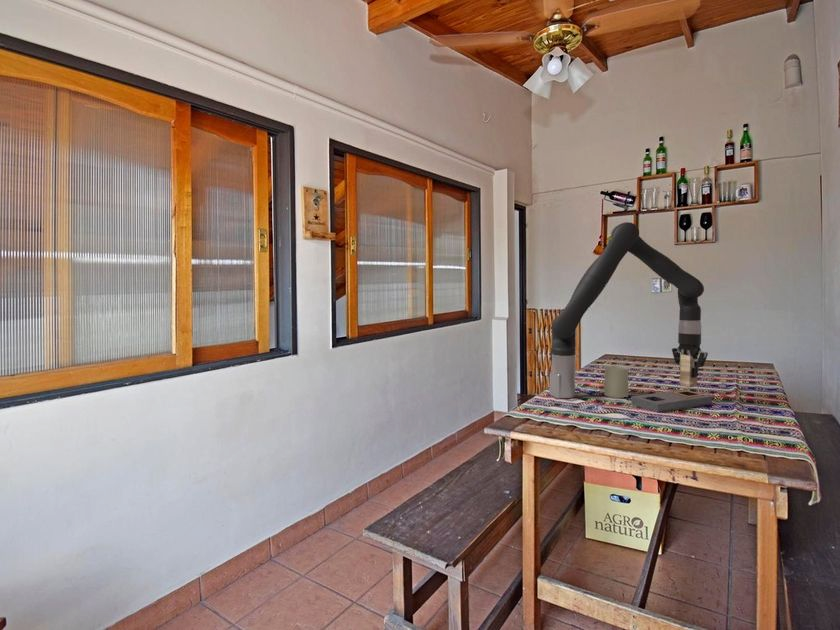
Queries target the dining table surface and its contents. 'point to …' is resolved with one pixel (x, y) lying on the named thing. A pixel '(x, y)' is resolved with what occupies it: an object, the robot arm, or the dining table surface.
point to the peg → (686, 372)
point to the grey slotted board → (671, 400)
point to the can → (616, 381)
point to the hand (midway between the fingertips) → (688, 376)
